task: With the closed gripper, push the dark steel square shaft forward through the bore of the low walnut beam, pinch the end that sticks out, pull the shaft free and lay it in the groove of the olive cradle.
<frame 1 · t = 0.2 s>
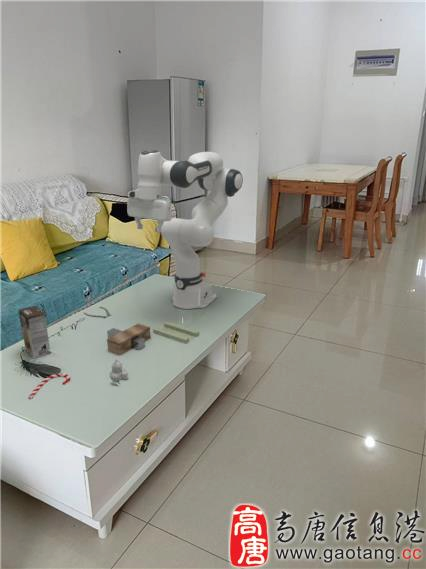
hand: (148, 230, 170), 39 cm above the table, tool pointing down, fingers open, 8 cm apart
coffee box: (37, 351, 159), on the table
grey lumpy blob: (119, 381, 141), on the table
candy cane: (49, 388, 138), on the table
cradle: (176, 337, 169), on the table
pliers: (106, 315, 190), on the table
shaft: (126, 342, 162), point 1 cm above the table, touching beam
beam: (130, 347, 162), on the table
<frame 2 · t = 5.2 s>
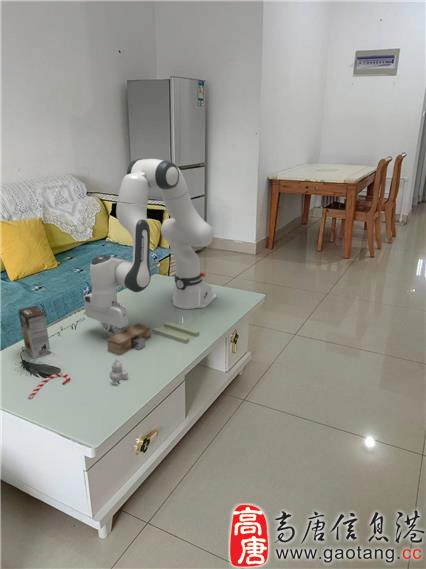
hand: (108, 332, 167), 3 cm above the table, tool pointing down, fingers closed
shaft: (126, 342, 162), point 1 cm above the table, touching beam, gripper
everything else where it was.
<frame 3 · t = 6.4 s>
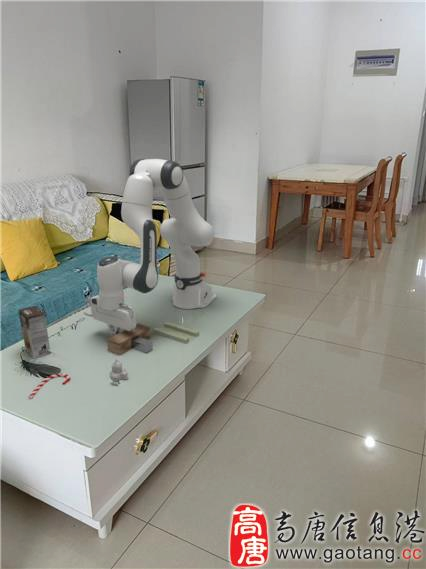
hand: (115, 334, 164), 3 cm above the table, tool pointing down, fingers closed
shaft: (133, 345, 160), point 1 cm above the table, touching beam, gripper
everything else where it was.
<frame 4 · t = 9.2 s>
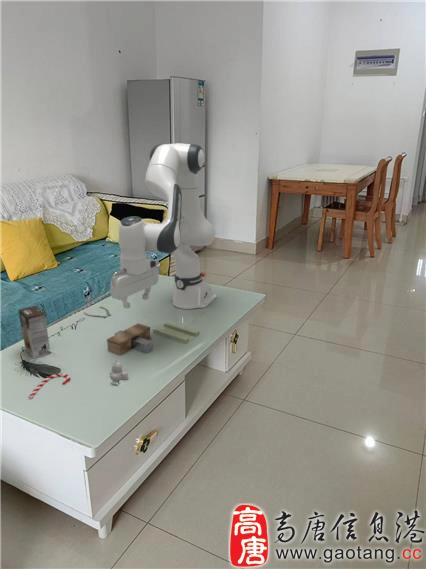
hand: (136, 303, 152), 19 cm above the table, tool pointing down, fingers open, 8 cm apart
shaft: (133, 345, 160), point 1 cm above the table, touching beam
everything else where it was.
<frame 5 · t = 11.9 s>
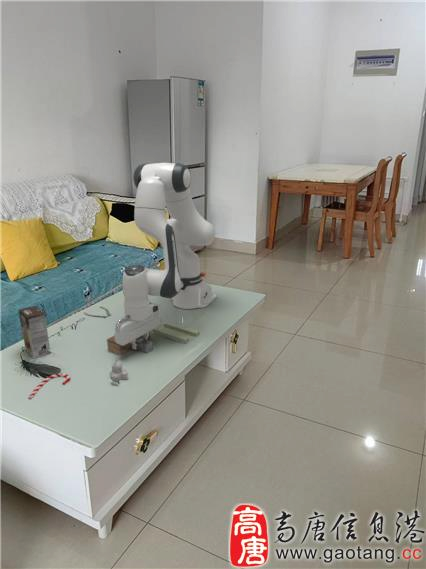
hand: (139, 346, 158), 2 cm above the table, tool pointing down, fingers closed on shaft, 3 cm apart
shaft: (133, 345, 160), point 2 cm above the table, touching beam, gripper
everything else where it was.
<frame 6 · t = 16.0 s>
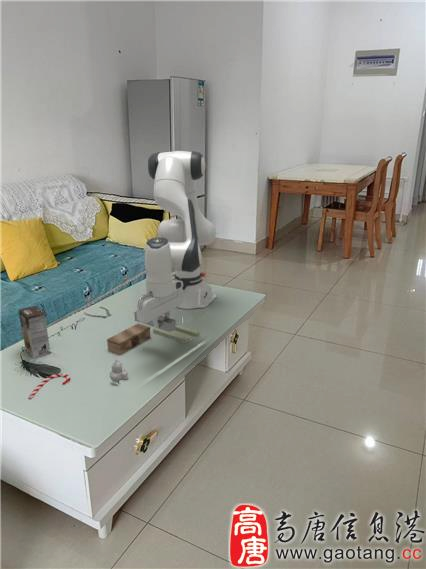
hand: (161, 325, 149), 13 cm above the table, tool pointing down, fingers closed on shaft, 3 cm apart
shaft: (155, 324, 151), point 13 cm above the table, touching gripper
everything else where it was.
when the fingers open (4 cm above the table, at t = 20.3 s): shaft drops 2 cm, resting on cradle.
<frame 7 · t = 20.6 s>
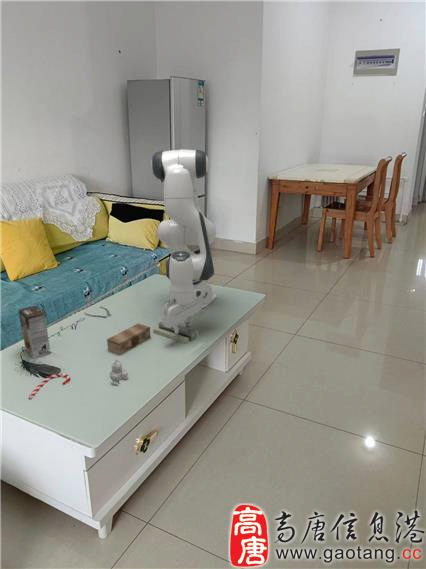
hand: (183, 329, 166), 4 cm above the table, tool pointing down, fingers open, 5 cm apart
shaft: (177, 334, 168), point 1 cm above the table, touching cradle
everything else where it was.
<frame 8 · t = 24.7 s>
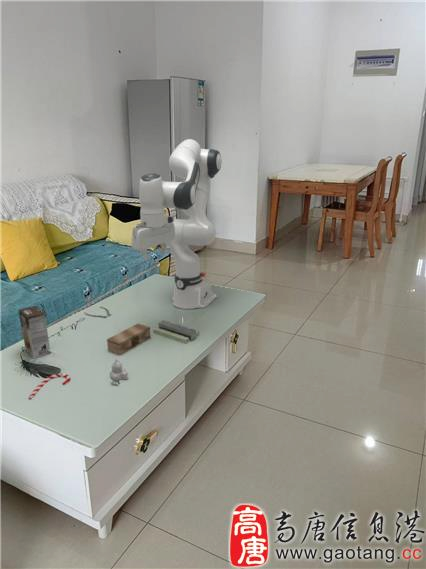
hand: (154, 256, 163), 31 cm above the table, tool pointing down, fingers open, 8 cm apart
nothing on the table moved.
at the end: shaft 0.5 cm off-centre on the cradle, point 1.5 cm above the cradle's base; the gripper is holding nothing; shaft tilted 0° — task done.
